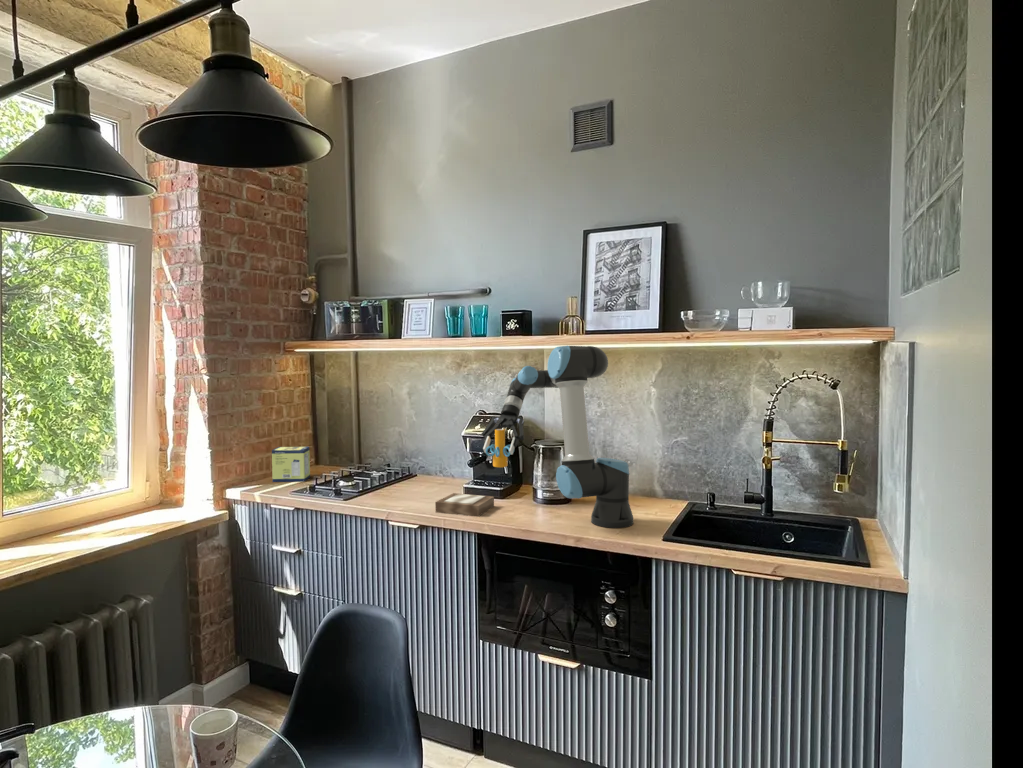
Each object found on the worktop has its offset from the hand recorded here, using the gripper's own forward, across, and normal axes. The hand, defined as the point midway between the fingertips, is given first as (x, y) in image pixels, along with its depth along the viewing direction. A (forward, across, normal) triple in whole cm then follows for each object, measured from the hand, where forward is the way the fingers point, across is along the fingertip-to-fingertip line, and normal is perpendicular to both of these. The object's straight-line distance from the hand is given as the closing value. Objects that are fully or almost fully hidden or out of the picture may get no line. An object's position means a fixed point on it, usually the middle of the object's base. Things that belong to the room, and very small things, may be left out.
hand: (497, 451), depth 244 cm
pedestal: (+22, +10, -9) cm, 26 cm away
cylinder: (+3, 0, -7) cm, 7 cm away
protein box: (+9, +114, -23) cm, 116 cm away
